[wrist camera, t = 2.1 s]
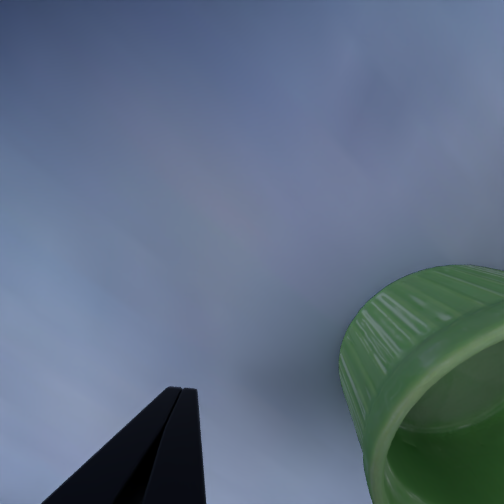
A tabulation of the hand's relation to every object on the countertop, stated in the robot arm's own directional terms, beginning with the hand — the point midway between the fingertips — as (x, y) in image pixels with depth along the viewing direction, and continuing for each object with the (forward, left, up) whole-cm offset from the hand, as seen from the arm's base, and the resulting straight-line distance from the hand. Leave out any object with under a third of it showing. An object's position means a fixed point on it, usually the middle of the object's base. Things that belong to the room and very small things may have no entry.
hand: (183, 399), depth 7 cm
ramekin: (-3, -9, -3) cm, 10 cm away
